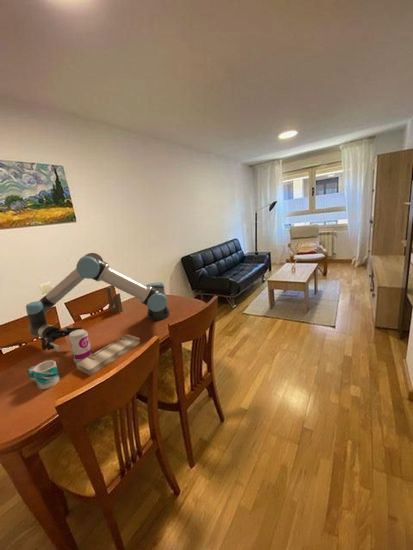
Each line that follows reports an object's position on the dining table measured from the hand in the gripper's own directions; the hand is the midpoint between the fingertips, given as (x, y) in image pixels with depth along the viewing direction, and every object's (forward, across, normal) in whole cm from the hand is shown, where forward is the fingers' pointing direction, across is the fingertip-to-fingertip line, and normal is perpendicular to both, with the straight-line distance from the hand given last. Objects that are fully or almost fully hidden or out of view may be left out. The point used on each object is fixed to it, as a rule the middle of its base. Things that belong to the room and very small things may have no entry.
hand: (72, 341), depth 120 cm
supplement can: (+6, 0, -9) cm, 11 cm away
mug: (+6, +18, -9) cm, 21 cm away
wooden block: (-29, -49, -9) cm, 58 cm away
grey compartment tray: (+16, -9, -9) cm, 20 cm away
